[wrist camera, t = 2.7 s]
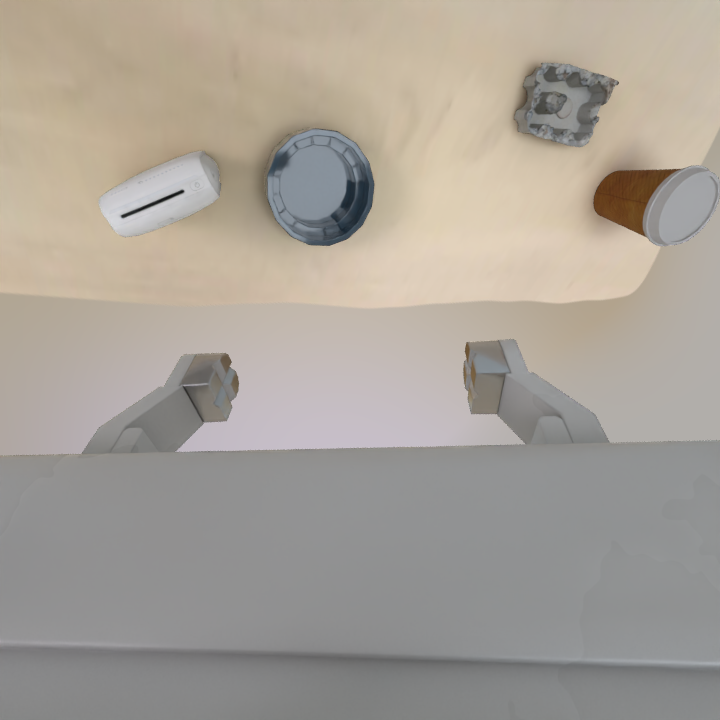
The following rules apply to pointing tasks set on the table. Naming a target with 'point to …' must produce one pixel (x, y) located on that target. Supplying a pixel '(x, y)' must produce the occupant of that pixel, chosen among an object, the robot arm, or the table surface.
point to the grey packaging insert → (563, 103)
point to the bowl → (319, 186)
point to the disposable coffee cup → (660, 202)
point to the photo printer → (162, 194)
